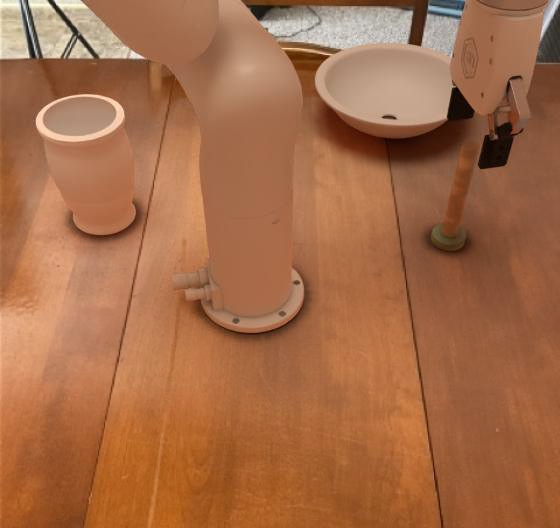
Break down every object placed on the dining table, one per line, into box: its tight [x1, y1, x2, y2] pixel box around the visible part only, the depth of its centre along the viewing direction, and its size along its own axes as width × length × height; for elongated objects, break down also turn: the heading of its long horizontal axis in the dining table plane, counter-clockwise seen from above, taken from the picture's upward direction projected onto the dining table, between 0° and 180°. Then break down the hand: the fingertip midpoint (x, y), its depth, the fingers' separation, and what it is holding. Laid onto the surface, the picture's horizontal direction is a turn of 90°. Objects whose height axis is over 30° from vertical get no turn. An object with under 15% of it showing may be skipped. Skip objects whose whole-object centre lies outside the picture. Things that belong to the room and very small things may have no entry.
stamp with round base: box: [430, 139, 481, 252], centre depth 84 cm, size 4×4×14 cm
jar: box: [35, 93, 137, 236], centre depth 87 cm, size 11×10×15 cm
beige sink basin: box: [314, 42, 456, 139], centre depth 105 cm, size 24×24×7 cm
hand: (474, 141), depth 78 cm, fingers open, 9 cm apart
